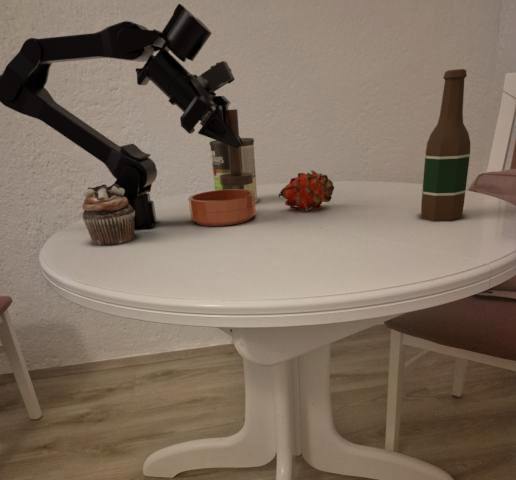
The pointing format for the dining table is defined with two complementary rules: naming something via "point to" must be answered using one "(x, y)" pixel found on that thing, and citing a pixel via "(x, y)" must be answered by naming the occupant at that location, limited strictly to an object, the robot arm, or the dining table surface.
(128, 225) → the cupcake
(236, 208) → the bowl
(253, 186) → the coffee can
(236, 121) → the wooden peg on disc
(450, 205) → the beer bottle
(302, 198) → the dragon fruit
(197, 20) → the robot arm
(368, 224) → the dining table surface
